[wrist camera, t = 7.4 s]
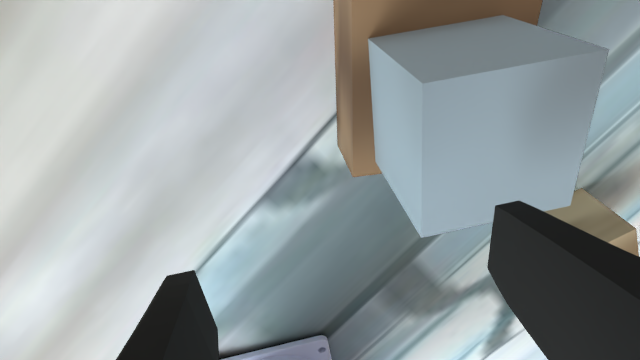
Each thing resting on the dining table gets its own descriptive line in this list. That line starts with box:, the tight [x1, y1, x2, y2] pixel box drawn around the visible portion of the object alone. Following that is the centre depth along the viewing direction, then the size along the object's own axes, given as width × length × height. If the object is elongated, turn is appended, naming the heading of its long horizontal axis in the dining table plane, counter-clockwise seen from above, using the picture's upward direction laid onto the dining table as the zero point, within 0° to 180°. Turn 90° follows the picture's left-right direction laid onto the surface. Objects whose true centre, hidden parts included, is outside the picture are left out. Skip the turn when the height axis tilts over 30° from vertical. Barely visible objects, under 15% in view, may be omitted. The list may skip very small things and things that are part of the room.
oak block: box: [544, 188, 639, 257], centre depth 24 cm, size 4×4×4 cm
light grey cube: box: [368, 15, 609, 238], centre depth 14 cm, size 5×5×5 cm
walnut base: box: [333, 0, 542, 177], centre depth 17 cm, size 7×7×4 cm
